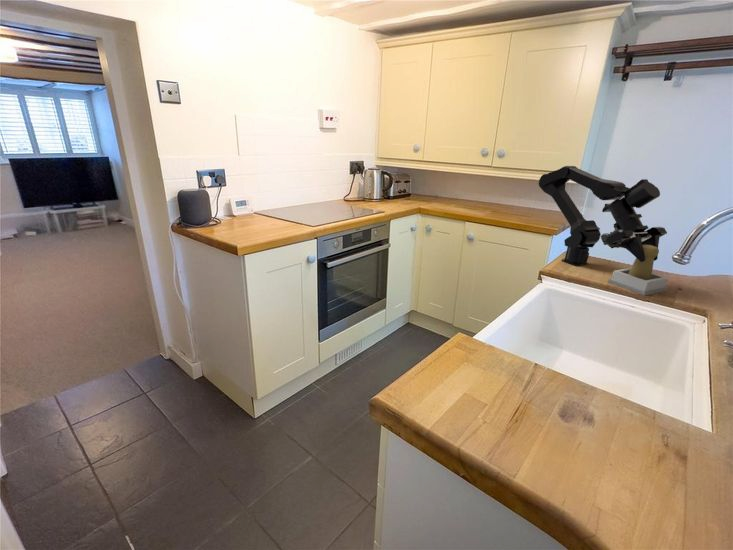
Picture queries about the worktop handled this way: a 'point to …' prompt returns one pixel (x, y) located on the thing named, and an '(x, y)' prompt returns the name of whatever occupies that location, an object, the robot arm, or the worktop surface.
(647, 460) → the worktop surface
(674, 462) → the worktop surface
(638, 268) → the cork
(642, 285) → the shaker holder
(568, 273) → the worktop surface
